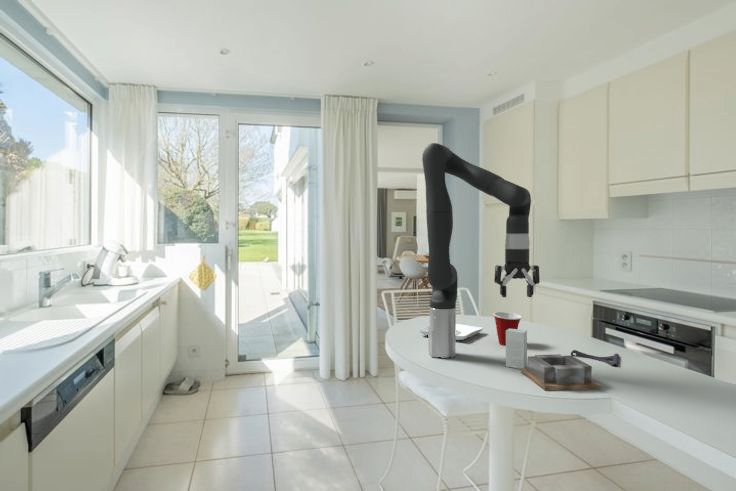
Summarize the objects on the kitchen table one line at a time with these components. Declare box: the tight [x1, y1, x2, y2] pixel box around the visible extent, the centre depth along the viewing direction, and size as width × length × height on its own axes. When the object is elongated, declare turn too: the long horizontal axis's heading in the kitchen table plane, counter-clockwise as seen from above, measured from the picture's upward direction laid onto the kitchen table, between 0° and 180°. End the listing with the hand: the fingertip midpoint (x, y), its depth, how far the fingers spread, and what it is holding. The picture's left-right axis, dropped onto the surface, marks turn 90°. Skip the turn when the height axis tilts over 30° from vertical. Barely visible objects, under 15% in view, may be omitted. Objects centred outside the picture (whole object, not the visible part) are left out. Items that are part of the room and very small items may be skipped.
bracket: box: [570, 349, 620, 368], centre depth 152 cm, size 14×15×3 cm
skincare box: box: [505, 328, 528, 370], centre depth 143 cm, size 6×4×12 cm
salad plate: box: [418, 323, 484, 341], centre depth 187 cm, size 21×21×3 cm
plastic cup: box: [492, 311, 523, 347], centre depth 171 cm, size 11×11×12 cm
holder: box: [520, 353, 601, 391], centre depth 130 cm, size 16×16×6 cm
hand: (516, 297), depth 143 cm, fingers open, 8 cm apart
